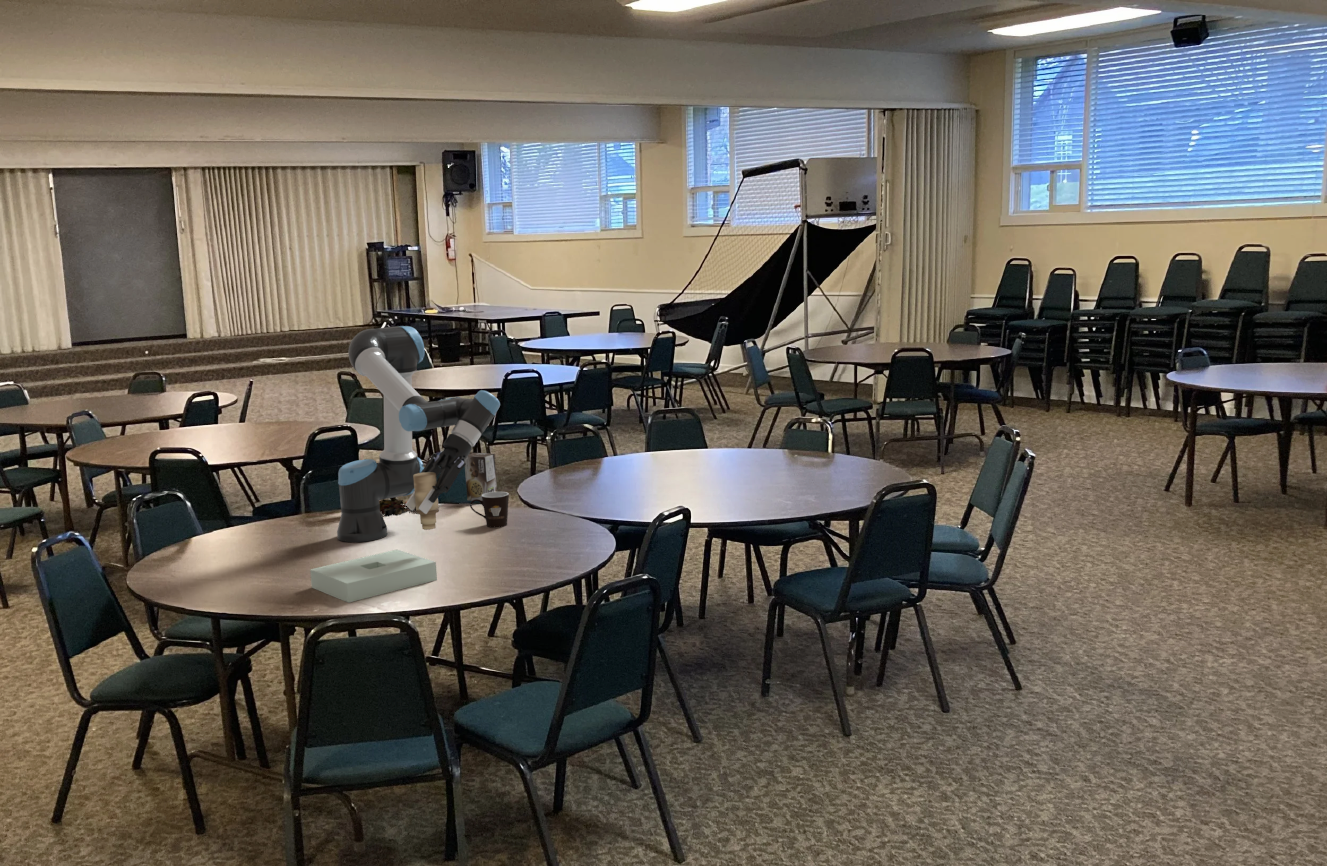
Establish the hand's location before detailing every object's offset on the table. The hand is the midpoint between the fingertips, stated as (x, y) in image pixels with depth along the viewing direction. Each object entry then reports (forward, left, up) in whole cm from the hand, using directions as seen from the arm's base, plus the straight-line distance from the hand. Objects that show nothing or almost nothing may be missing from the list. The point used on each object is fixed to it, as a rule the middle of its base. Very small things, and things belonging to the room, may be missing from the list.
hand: (415, 509), depth 313 cm
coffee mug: (-31, +46, -18) cm, 58 cm away
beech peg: (0, +4, -6) cm, 7 cm away
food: (-75, +41, -19) cm, 87 cm away
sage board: (-1, -13, -18) cm, 22 cm away
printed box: (-66, +66, -18) cm, 95 cm away
